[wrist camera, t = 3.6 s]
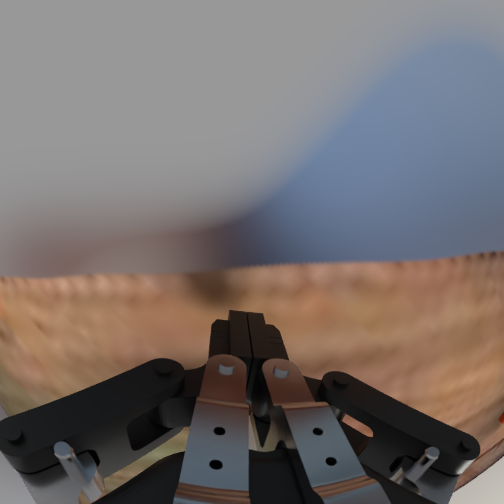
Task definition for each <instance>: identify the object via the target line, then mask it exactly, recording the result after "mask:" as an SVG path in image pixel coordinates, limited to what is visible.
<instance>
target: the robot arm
mask: <svg viewBox="0 0 504 504" xmlns="http://www.w3.org/2000/svg"><path fill="white" fill-rule="evenodd" d="M247 403H251V404H252V411H251V415H250V420H251V425H252V429H253V434H254V438H255V443H256V447H257V451H256V450H251V449H249V405H248V404H247ZM345 414H347V415H349V416H351V417H353V418H354V419H356V420H358V421H359V422H361V423H363V424H365V425H366V426H368V427H370V428H371V429H372V431H373V437H368V436H366V435H364V434H362V433H361V432H359V431H357V430H356V429H354V428H352V427H351V426H349V425H347V424H346V423H344V422H342V420H343V418H344V416H345ZM185 426H191V427H190V431H189V436H188V441H187V445H186V450H185V451H184V452H179V453H175V454H172V455H169V456H167V457H164V458H162V459H161V460H159V461H157V462H156V463H154V464H153V465H151V466H150V467H148V468H147V469H145V470H144V471H143V472H141V473H140V474H138V475H137V476H135V477H134V478H132V479H131V480H129V481H128V482H126V483H124V484H123V485H121V486H120V487H118V488H117V489H115V490H113V491H112V492H110V493H108V494H107V495H105V496H103V497H102V498H100V499H98V500H97V501H95V502H94V500H96V499H97V498H98V497H99V496H101V494H102V493H103V491H104V488H105V483H104V478H106V477H108V476H110V475H111V474H113V473H115V472H117V471H119V470H120V469H122V468H124V467H126V466H127V465H129V464H131V463H132V462H134V461H136V460H137V459H139V458H141V457H142V456H144V455H146V454H147V453H149V452H150V451H152V450H154V449H155V448H157V447H158V446H160V445H161V444H163V443H165V442H166V441H168V440H169V439H171V438H172V437H174V436H175V435H177V434H178V433H179V432H181V430H182V429H183V427H185ZM0 451H1V452H2V453H3V455H4V456H5V458H6V459H7V460H8V462H9V464H10V465H11V467H12V468H13V469H14V470H15V471H16V473H17V474H18V475H19V476H20V477H21V478H22V480H23V482H24V483H25V485H26V487H27V489H28V490H29V492H30V494H31V495H32V497H33V499H34V500H35V502H36V503H37V504H448V503H449V501H450V498H451V496H452V493H453V491H454V488H455V486H456V483H457V480H458V477H459V476H460V475H461V474H462V473H463V472H464V471H465V470H466V469H467V468H468V467H469V466H470V465H471V463H472V462H473V461H474V460H475V459H476V458H477V457H478V456H479V454H480V445H479V443H478V441H477V440H476V439H475V438H474V437H473V436H471V435H469V434H467V433H465V432H462V431H460V430H458V429H456V428H454V427H451V426H449V425H447V424H445V423H443V422H440V421H438V420H436V419H434V418H432V417H430V416H428V415H426V414H424V413H422V412H419V411H417V410H415V409H413V408H411V407H409V406H407V405H405V404H403V403H401V402H399V401H397V400H396V399H394V398H392V397H390V396H388V395H386V394H384V393H382V392H380V391H378V390H376V389H375V388H373V387H371V386H369V385H367V384H365V383H363V382H362V381H360V380H358V379H356V378H354V377H352V376H351V375H349V374H346V373H344V372H339V371H332V372H328V373H326V374H325V375H324V376H323V378H322V380H318V379H314V378H309V377H306V376H303V375H302V373H301V371H300V369H299V367H298V366H297V365H295V364H294V363H293V362H290V361H289V358H288V355H287V352H286V349H285V346H284V343H283V340H282V337H281V334H280V331H279V330H278V329H277V328H276V327H275V326H274V325H269V324H265V320H264V316H263V313H253V312H243V311H234V310H229V316H228V320H220V319H217V320H216V321H215V322H214V323H213V324H212V327H211V336H210V345H209V355H208V361H207V363H206V364H205V365H204V366H202V367H200V368H197V369H192V370H184V368H183V366H182V365H181V364H180V363H178V362H176V361H174V360H171V359H166V358H158V359H153V360H151V361H148V362H146V363H144V364H142V365H140V366H137V367H135V368H133V369H131V370H128V371H126V372H124V373H122V374H119V375H117V376H115V377H112V378H110V379H108V380H105V381H103V382H101V383H98V384H96V385H93V386H91V387H88V388H86V389H84V390H81V391H79V392H76V393H74V394H71V395H68V396H66V397H63V398H61V399H58V400H55V401H53V402H50V403H48V404H45V405H42V406H39V407H37V408H34V409H31V410H28V411H25V412H22V413H20V414H17V415H14V416H11V417H8V418H5V419H3V420H1V421H0Z"/></svg>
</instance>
